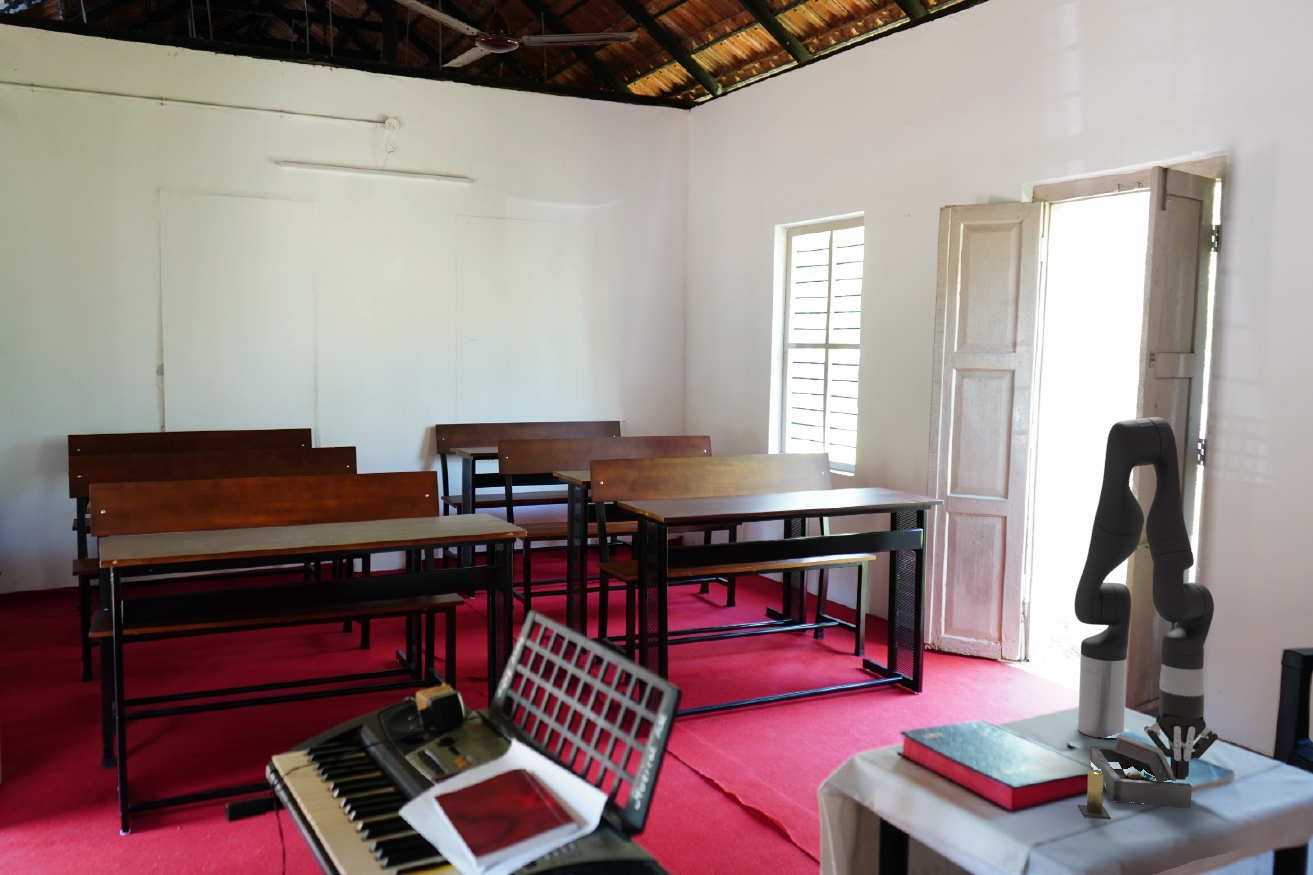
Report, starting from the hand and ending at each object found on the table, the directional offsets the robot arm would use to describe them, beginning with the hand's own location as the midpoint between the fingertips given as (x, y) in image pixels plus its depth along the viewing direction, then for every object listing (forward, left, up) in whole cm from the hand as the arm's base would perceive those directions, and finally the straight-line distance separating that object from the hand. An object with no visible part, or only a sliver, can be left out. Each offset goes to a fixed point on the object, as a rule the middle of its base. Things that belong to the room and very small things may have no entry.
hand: (1179, 778), depth 191 cm
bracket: (-1, -7, -2) cm, 7 cm away
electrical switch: (-2, -5, -2) cm, 6 cm away
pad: (+13, -19, -2) cm, 23 cm away
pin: (+13, -19, -2) cm, 23 cm away
